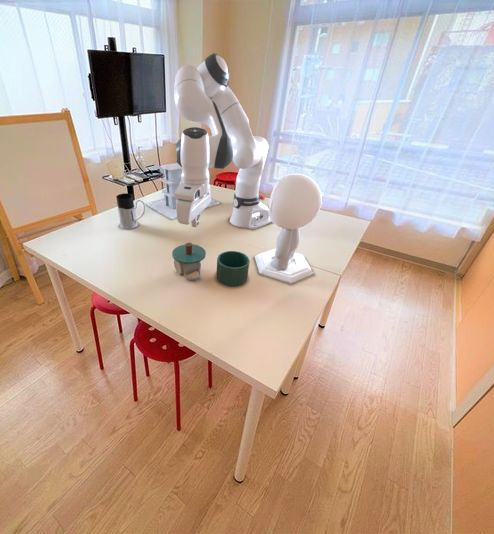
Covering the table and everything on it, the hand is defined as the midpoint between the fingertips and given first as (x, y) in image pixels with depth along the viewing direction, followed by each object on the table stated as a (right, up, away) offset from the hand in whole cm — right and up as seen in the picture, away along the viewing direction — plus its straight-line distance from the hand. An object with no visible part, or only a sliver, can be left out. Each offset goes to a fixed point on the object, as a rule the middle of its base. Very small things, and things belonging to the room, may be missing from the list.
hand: (195, 225), depth 94 cm
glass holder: (-31, +6, +41) cm, 52 cm away
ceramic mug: (-2, -17, +8) cm, 19 cm away
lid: (-2, -10, +4) cm, 11 cm away
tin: (+13, -18, +6) cm, 23 cm away
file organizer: (-7, +22, +64) cm, 68 cm away
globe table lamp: (+34, -14, +12) cm, 39 cm away
